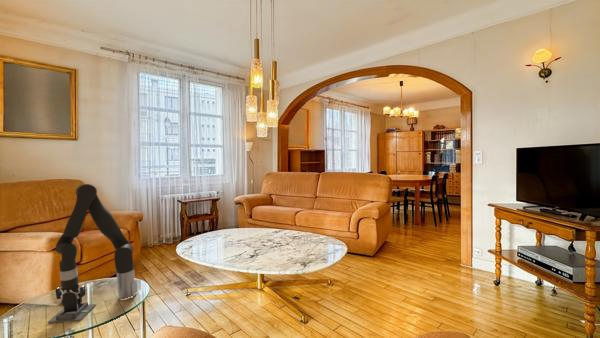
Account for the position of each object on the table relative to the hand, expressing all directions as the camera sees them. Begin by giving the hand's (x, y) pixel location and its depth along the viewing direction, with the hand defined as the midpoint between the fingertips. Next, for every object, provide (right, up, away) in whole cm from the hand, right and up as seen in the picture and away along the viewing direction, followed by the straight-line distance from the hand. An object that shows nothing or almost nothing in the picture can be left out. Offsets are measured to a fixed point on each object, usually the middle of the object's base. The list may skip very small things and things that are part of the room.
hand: (72, 304), depth 158 cm
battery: (0, -4, 0) cm, 4 cm away
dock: (0, -6, +1) cm, 6 cm away
